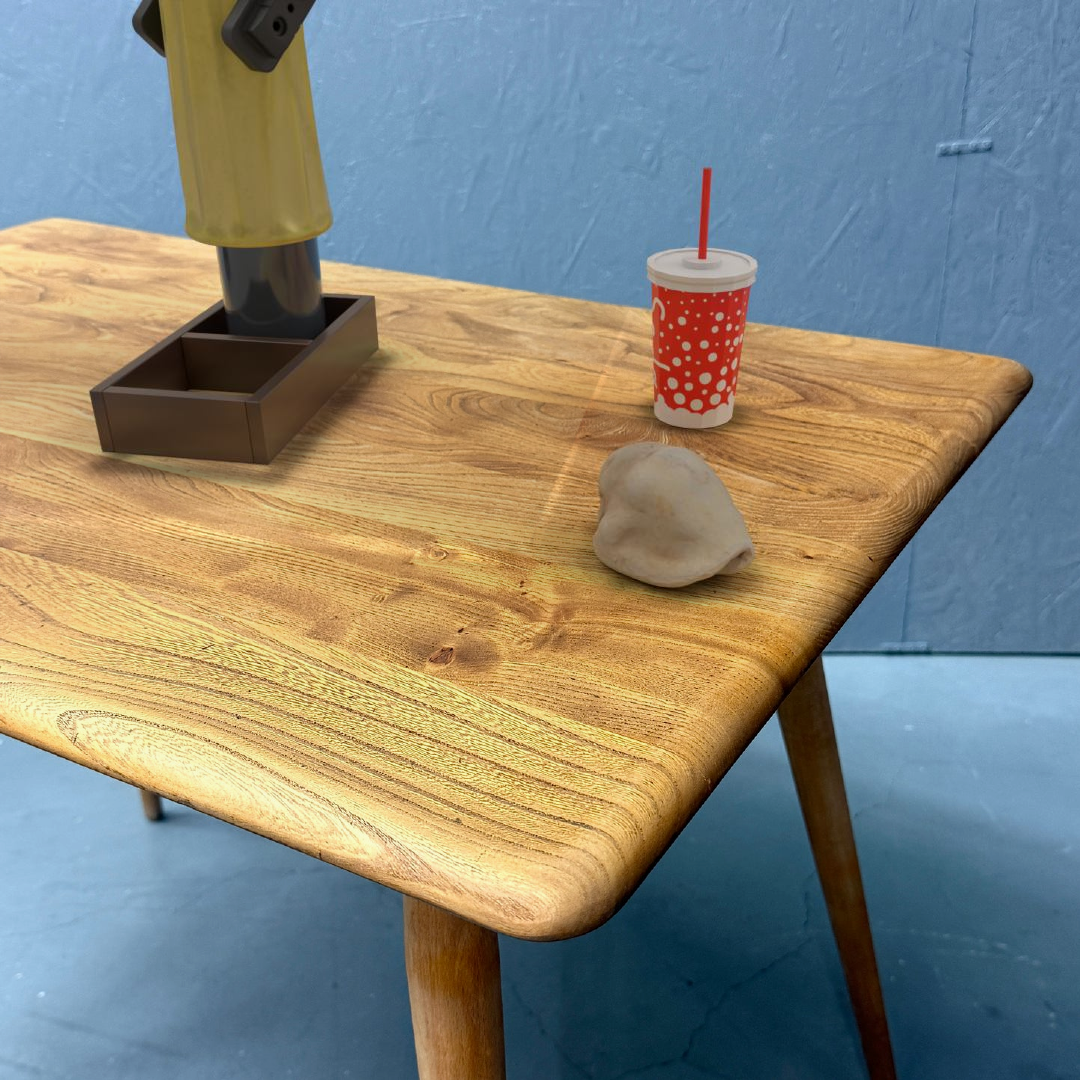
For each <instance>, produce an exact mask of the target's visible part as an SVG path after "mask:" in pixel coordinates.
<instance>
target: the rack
mask: <svg viewBox="0 0 1080 1080" xmlns="http://www.w3.org/2000/svg"><path fill="white" fill-rule="evenodd" d="M323 296H324V306H325V315H326V325H327V328H326V329H325V330H324V331H323V332H322V333H321V334H320V335H319V336H318V337H316V338H315V339H314V340H306V339H289V338H272V337H255V336H238V335H229V334H228V327H227V321H226V314H225V307H224V300H223V297H222V298H221V299H220V300H218V301H217V302H215V303H214V304H212V305H211V306H210V307H208V308H207V309H205V310H203V311H202V312H201V313H199V314H198V315H196V316H195V317H193V318H192V319H190V320H189V321H188V322H186V323H185V324H183V325H182V326H180V327H179V328H178V329H176V330H175V331H173V332H171V333H170V334H169V335H168V336H166V337H164V338H163V339H162V340H160V341H159V342H157V343H156V344H154V345H153V346H151V347H150V348H148V349H147V350H146V351H144V352H143V353H141V354H140V355H139V356H137V357H135V358H134V359H132V360H131V361H129V362H128V363H127V364H125V365H124V366H122V367H120V368H119V369H118V370H117V371H115V372H114V373H112V374H111V375H109V376H108V377H107V378H105V379H103V380H102V381H100V382H99V383H98V384H97V385H94V387H92V388H91V389H90V390H88V393H89V397H90V398H89V399H90V403H91V407H92V412H93V416H94V422H95V425H96V426H95V427H96V430H97V435H98V439H99V445H100V449H101V453H109V454H122V455H133V456H134V455H135V456H146V457H147V456H148V457H158V458H159V457H161V458H172V459H184V460H186V459H187V460H195V461H210V462H219V463H220V462H221V463H232V464H233V463H234V464H245V465H247V464H248V465H259V466H269V465H270V464H271V463H272V462H273V461H274V460H275V459H276V458H277V457H278V456H279V454H281V452H282V451H283V450H284V449H285V448H286V447H287V446H288V445H289V444H290V443H291V442H292V441H293V440H294V439H295V438H296V436H297V435H298V434H299V433H300V432H301V431H302V430H303V429H304V428H305V427H306V426H307V425H308V424H309V423H310V421H312V420H313V418H314V417H316V415H317V414H318V413H319V412H320V411H321V410H322V409H323V408H324V407H325V406H326V405H327V404H328V403H329V402H330V401H331V399H332V398H333V397H335V395H336V394H337V393H338V392H339V391H340V390H341V389H342V388H343V387H344V386H345V385H346V383H348V382H349V380H350V379H352V377H353V376H354V375H355V374H356V373H357V372H358V371H359V370H360V369H361V368H362V367H363V366H364V365H365V363H366V362H367V361H368V360H369V359H370V358H371V357H372V356H373V355H374V354H375V353H376V352H377V350H378V349H379V346H380V345H379V331H378V323H377V321H378V320H377V319H378V318H377V308H376V297H375V295H372V294H371V295H369V294H353V293H334V292H333V293H332V292H329V293H328V292H323Z"/></svg>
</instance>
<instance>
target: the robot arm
mask: <svg viewBox="0 0 1080 1080" xmlns="http://www.w3.org/2000/svg"><path fill="white" fill-rule="evenodd" d="M316 2H317V0H238V1H237V2H236V4H235V6H234V7H233V9H232V10H231V12H230V14H229V15H228V17H227V19H226V20H225V22H224V24H223V26H222V29H221V36H222V40H223V42H224V43H225V45H226V46H227V47H228V48H229V49H230V50H231V51H232V52H233V53H234V54H235V55H236V56H237V57H238V58H239V59H240V60H241V61H242V62H243V63H244V64H245V65H246V66H247V67H248V68H249V69H250V70H252V71H256V72H263V73H269V72H272V71H273V70H274V69H275V67H276V66H277V64H278V62H279V61H280V59H281V57H282V55H283V54H284V52H285V51H286V50H287V48H288V47H289V45H290V44H291V42H292V40H293V39H294V37H295V34H297V32H298V30H299V28H300V25H302V23H303V24H304V22H305V20H306V18H307V16H308V15H309V13H310V12H311V10H312V9H313V7H314V5H315V3H316ZM131 23H132V24H131V25H132V28H133V30H134V32H135V33H136V35H138V36H139V37H140V38H141V39H142V40H143V41H144V42H145V43H146V44H147V45H148V46H150V47H151V48H152V50H154V51H155V52H156V53H157V54H158V55H159V56H161V58H164V59H166V54H165V47H164V40H163V32H162V24H161V16H160V7H159V0H141V2H140V3H139V4H138V7H137V8H136V10H135V11H134V13H133V14H132V18H131Z"/></svg>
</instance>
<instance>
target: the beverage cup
mask: <svg viewBox="0 0 1080 1080" xmlns="http://www.w3.org/2000/svg"><path fill="white" fill-rule="evenodd" d="M712 173H713V167H707V166H706V167H705V166H704V167H703V168H702V181H701V199H700V215H699V231H698V232H699V233H698V247H683V248H682V247H681V248H674V249H673V248H672V249H668V250H663V251H659V252H655V253H654V254H652V255H650V256H648V257H647V259H646V270H647V273H646V274H647V275H646V279H647V280H649V281H650V282H651V283H650V284H651V315H652V316H651V320H652V321H651V323H652V326H651V328H652V364H653V365H652V366H653V367H652V368H653V369H652V370H653V409H654V410H653V411H654V412H653V413H654V416H655V417H656V418H657V419H658V420H659V421H661V422H663V423H665V424H667V425H669V426H673V427H679V428H684V429H709V428H715V427H718V426H721V425H724V424H726V423H728V422H729V421H730V420H732V418H733V414H734V413H733V412H734V407H735V398H736V391H737V385H738V379H739V378H738V377H739V371H740V364H741V356H742V349H743V343H744V335H745V328H746V322H747V315H748V308H749V301H750V294H751V286H752V284H754V283H755V282H756V280H757V279H756V274H757V273H758V267H759V266H758V261H757V259H755V258H754V257H751V256H750V255H748V254H746V253H745V254H744V253H742V252H739V251H735V250H730V249H722V248H715V247H708V241H709V240H708V239H709V224H710V223H709V221H710V208H711V206H710V205H711V193H712V192H711V190H712V175H713V174H712Z"/></svg>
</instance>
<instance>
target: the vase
mask: <svg viewBox="0 0 1080 1080" xmlns="http://www.w3.org/2000/svg"><path fill="white" fill-rule="evenodd" d="M237 1H238V0H159V7H160V16H161V24H162V32H163V40H164V47H165V54H166V58H165V60H166V69H167V79H168V89H169V95H170V103H171V112H172V114H171V115H172V123H173V131H174V140H175V146H176V153H177V159H178V167H179V175H180V184H181V186H182V187H181V188H182V193H183V199H184V206H185V220H184V224H183V225H184V233H185V235H186V236H187V237H188V238H190V239H191V240H193V241H195V242H197V243H199V244H204V245H207V246H212V247H216V246H221V247H235V248H257V247H271V246H279V245H286V244H292V243H297V242H302V241H305V240H309V239H312V238H315V237H317V238H318V237H319V236H321V235H323V234H325V233H326V232H328V231H329V230H330V229H331V228H332V226H333V225H334V215H333V211H332V207H331V204H330V199H329V194H328V193H329V192H328V188H327V183H326V177H325V172H324V165H323V161H322V154H321V148H320V142H319V138H318V137H319V136H318V131H317V130H318V129H317V124H316V117H315V108H314V102H313V95H312V87H311V79H310V71H309V63H308V56H307V55H308V54H307V48H306V40H305V30H304V22H303V23H302V25H300V28H299V30H298V32H297V34H295V37H294V39H293V40H292V42H291V44H290V45H289V47H288V48H287V50H286V51H285V52H284V54H283V55H282V57H281V59H280V61H279V62H278V64H277V66H276V67H275V69H274V70H273V71H272V72H269V73H263V72H256V71H252V70H250V69H249V68H248V67H247V66H246V65H245V64H244V63H243V62H242V61H241V60H240V59H239V58H238V57H237V56H236V55H235V54H234V53H233V52H232V51H231V50H230V49H229V48H228V47H227V46H226V45H225V43H224V42H223V40H222V36H221V29H222V26H223V24H224V22H225V20H226V19H227V17H228V15H229V14H230V12H231V10H232V9H233V7H234V6H235V4H236V2H237Z"/></svg>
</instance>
